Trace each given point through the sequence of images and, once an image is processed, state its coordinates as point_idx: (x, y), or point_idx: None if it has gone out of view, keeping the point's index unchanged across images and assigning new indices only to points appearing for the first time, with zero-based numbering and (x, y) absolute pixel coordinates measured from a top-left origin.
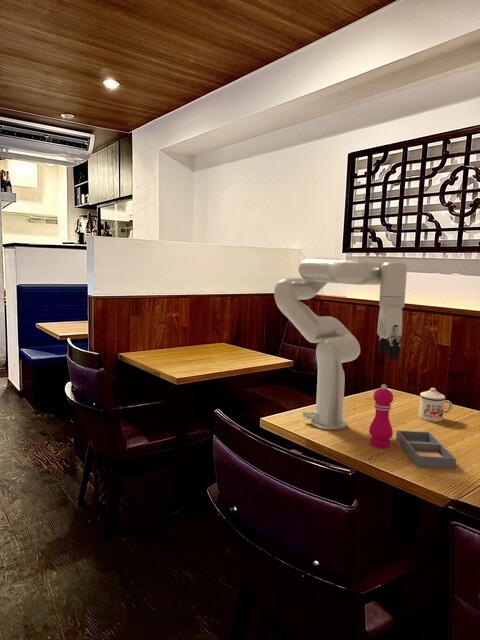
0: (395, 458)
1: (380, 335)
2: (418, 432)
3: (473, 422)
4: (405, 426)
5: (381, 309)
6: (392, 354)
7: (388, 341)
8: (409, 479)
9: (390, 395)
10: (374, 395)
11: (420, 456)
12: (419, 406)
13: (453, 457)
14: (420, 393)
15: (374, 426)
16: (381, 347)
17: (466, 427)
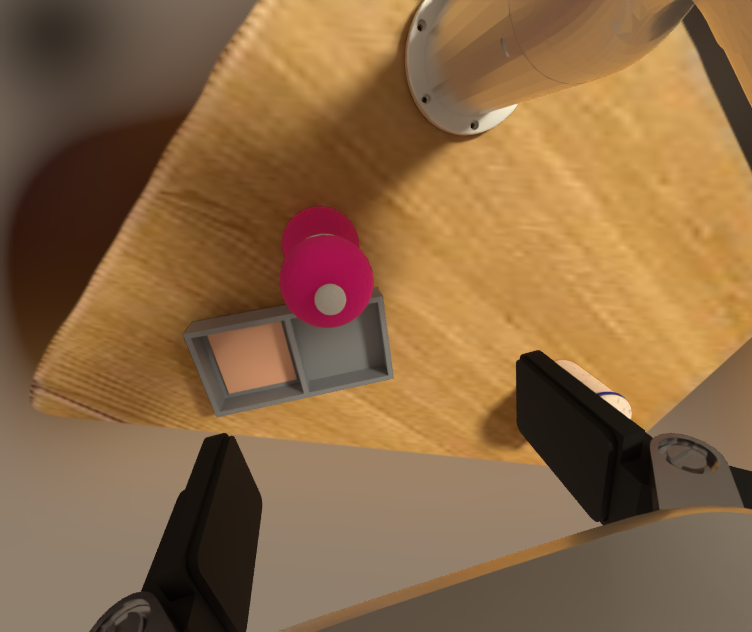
0: (229, 273)
1: (489, 592)
2: (384, 352)
3: (530, 462)
4: (484, 320)
5: None
6: (176, 506)
7: (607, 520)
8: (94, 295)
9: (297, 317)
10: (311, 240)
11: (188, 340)
12: (582, 374)
13: (221, 412)
14: (617, 397)
15: (295, 225)
16: (552, 402)
17: (496, 447)
